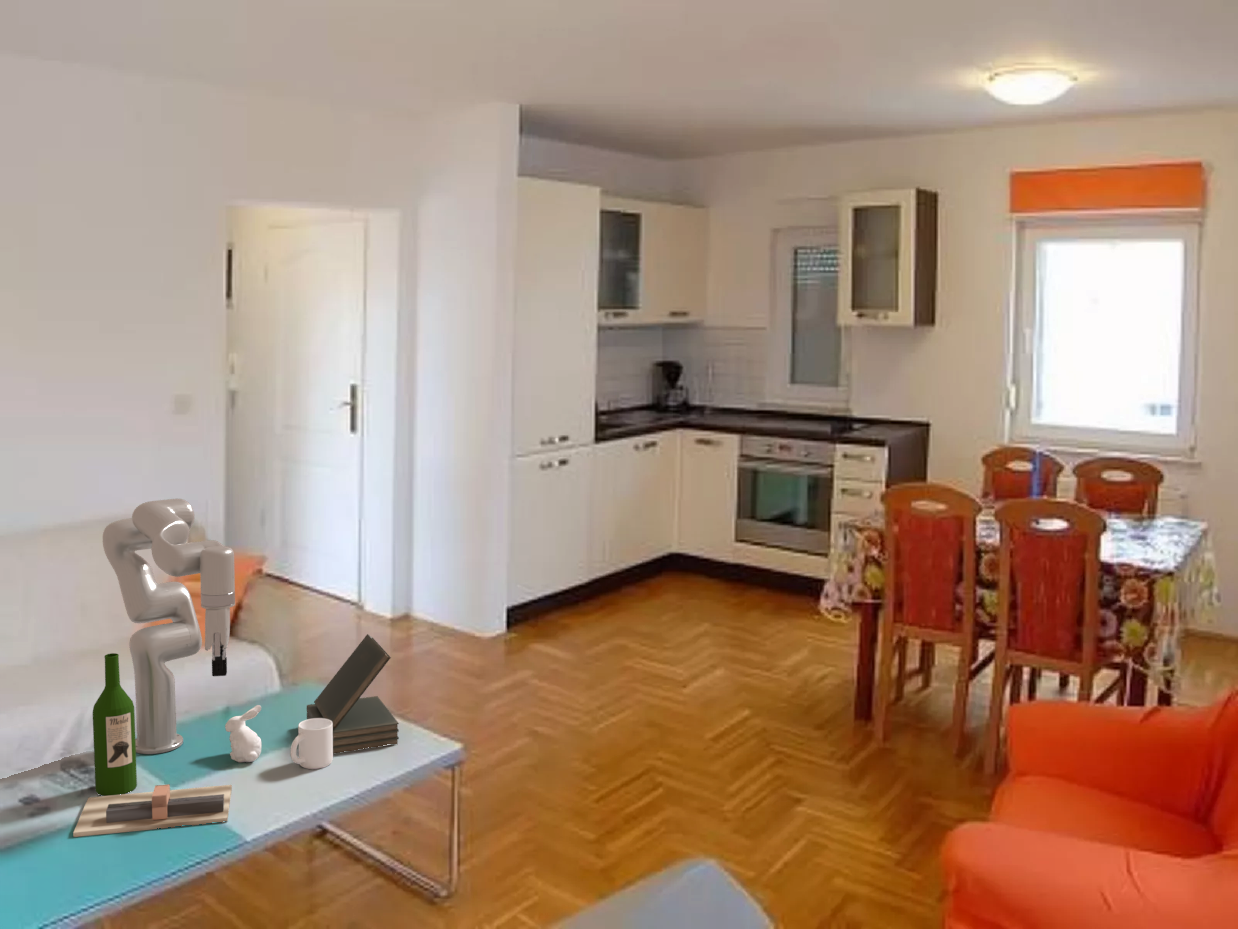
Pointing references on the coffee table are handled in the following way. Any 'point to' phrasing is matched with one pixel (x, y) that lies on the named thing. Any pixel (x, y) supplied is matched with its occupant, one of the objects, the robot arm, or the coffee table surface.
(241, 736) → the rabbit
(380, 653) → the stack of books
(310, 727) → the mug
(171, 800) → the bar
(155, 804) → the brown arch block
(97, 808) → the board
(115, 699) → the wine bottle
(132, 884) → the coffee table surface
